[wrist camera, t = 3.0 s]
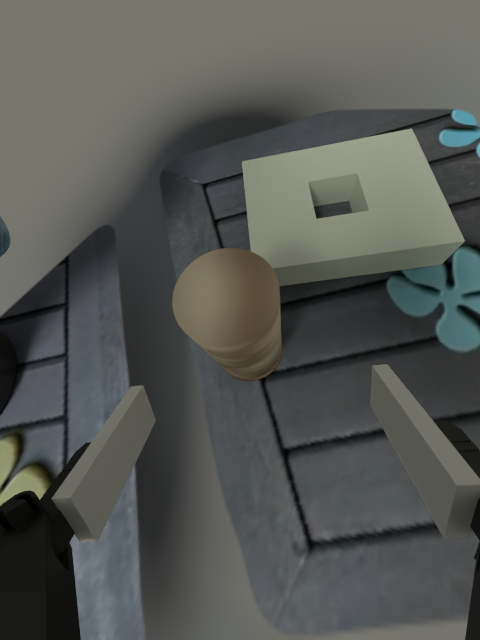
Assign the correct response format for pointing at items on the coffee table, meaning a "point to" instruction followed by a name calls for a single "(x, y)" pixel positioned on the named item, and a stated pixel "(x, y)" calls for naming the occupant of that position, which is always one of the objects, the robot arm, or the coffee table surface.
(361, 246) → the sage board
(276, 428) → the coffee table surface
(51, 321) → the coffee table surface
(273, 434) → the coffee table surface
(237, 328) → the tan wooden cylinder
